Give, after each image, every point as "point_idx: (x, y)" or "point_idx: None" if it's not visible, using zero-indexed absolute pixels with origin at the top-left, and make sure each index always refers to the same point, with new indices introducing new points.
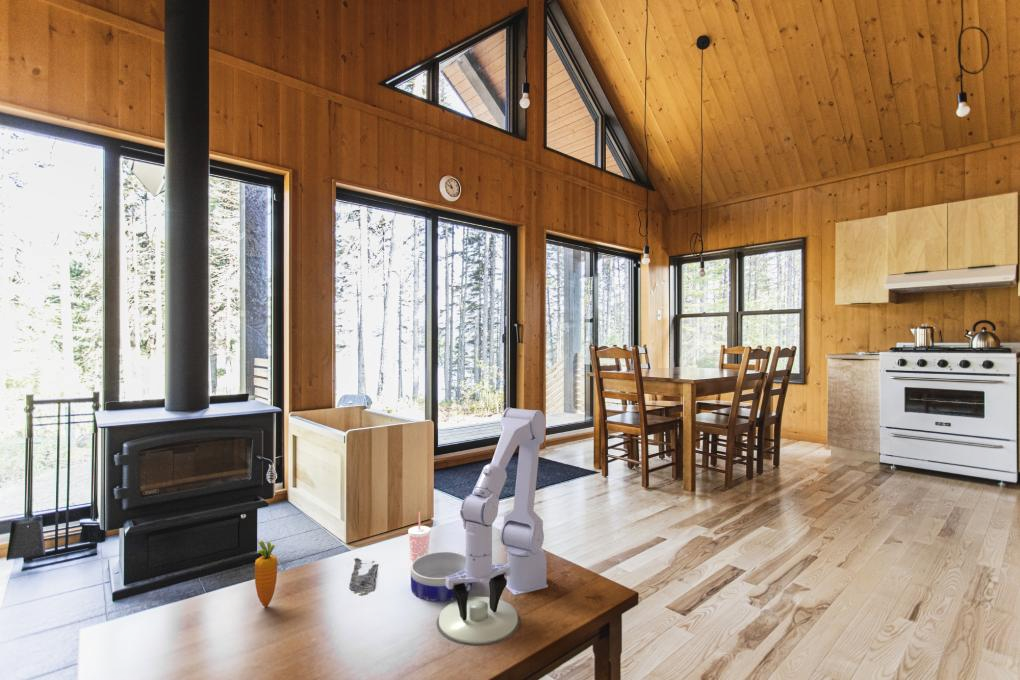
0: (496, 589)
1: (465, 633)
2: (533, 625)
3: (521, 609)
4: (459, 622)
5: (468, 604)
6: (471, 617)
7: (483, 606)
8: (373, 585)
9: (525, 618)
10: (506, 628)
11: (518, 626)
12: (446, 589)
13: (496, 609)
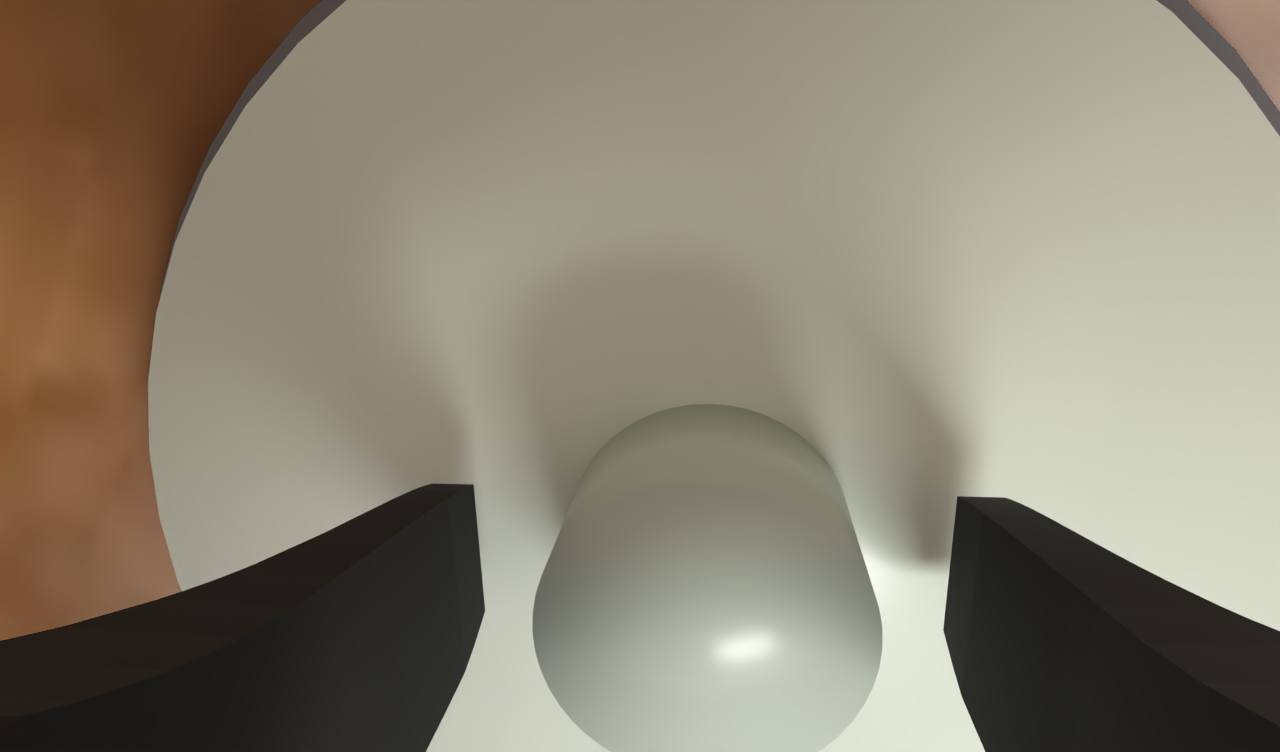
0: (208, 694)
1: (1114, 205)
2: (26, 93)
3: (86, 505)
4: None
5: None
6: (850, 518)
7: (635, 563)
8: None
9: (89, 300)
10: (429, 41)
11: (231, 116)
12: None
13: (415, 492)
